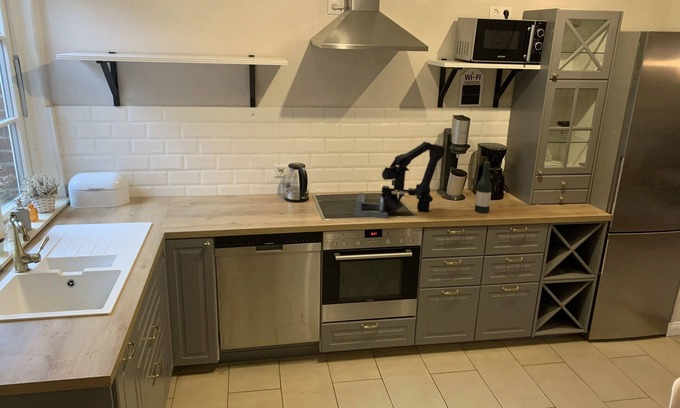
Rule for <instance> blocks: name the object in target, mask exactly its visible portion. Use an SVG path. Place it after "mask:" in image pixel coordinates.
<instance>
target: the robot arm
mask: <svg viewBox="0 0 680 408" xmlns="http://www.w3.org/2000/svg"><path fill="white" fill-rule="evenodd" d="M427 151H429V153H428V155H429V159H428V161H427V166H426V169H425V170H424V174H423V177H422V179H421V182H420V183H417V184H416V186H415V188H412V187H408V189H405V181H406V171H407V172H408V171H410V169H409V168H408V166H409V165H410V164H411V163H412V160H414V159H416V158H417V157H419V156H421V155H422V154H424V153H426V152H427ZM445 152H446V149H445V147H444V146H443V145H440V144H436V143H434V144H433V143H430V142H428V141H423V142H422V143H421V144H419V145H417V146H416V147H414V148H412V149H411V150H409V151H408V152H406V153H401V154H399V155H396V156H395V158H394V160H393V161H392V163H391V165H390V166H389V167H387V166H386V167H384V169H383V170H382V172H381V176H382V179H383V181H387V180H389V181H390V180H391V186H393V188H392V187H390V186H389V185H382V186H381V194H382V193H388V192H389V191H390V192H392V195H394V198H395V200H396V203H398V204H399V201H400V202H401V199H402V198H403V197H405V194H408V196H411V197H412V196H416V199H417V200H418V201H417V204H416V205H417V207H416V209H417V212H421V213H429V212H430V203H432V202H433V200H434V197H433V196H431V186H430V185H431V183H432V180H433V176H434V174H435V171H436V168H437V165H438V163H439V162H440V160H441V159H442V158H443V156H444V155H445Z"/></svg>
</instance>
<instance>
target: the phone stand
mask: <svg viewBox="0 0 680 408" xmlns="http://www.w3.org/2000/svg"><path fill="white" fill-rule="evenodd" d="M381 196H382V198H383V201H384V206H385V210H384V212H388V214H390V213H394V212H398V211H399V210H400V209H401V208H402V207H403V206H404V205H403V203H402V202H401V200H400V201H399V204H398V203H396V200H395V198H394V195H392V192H390V191H389V192H388V193H382V192H381ZM381 196H380V197H381Z"/></svg>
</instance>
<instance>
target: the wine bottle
mask: <svg viewBox="0 0 680 408" xmlns="http://www.w3.org/2000/svg"><path fill="white" fill-rule="evenodd" d="M490 166H491V163H490V161H488V160H485V161H484V163H483V171H482V177H480V179H479V181H478V182H477V184H476V185H477V186H476V194H475V196H476V197H475V203H474V211H475V213H478V214H483V215H484V214H488V213H490V207H491V205H490V204H491V199H492V198H491V197H492V196H491V195H492V190H493V183H492V182H491V180H490V177H489V176H490V168H491V167H490Z"/></svg>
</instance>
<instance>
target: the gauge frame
mask: <svg viewBox="0 0 680 408" xmlns="http://www.w3.org/2000/svg"><path fill="white" fill-rule="evenodd" d="M364 209H367V210H364ZM368 209H369V210H368ZM376 210H377V211H376ZM378 210H379V211H378ZM354 213H355V217H366V218H379V219H388V217H389V215H388V214H389V213H388V212H385V206H384V208H383V212H381V214H380V203H371V202H365V193H364V192H359V193H358V194H357V197H356V200H355V212H354Z"/></svg>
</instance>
